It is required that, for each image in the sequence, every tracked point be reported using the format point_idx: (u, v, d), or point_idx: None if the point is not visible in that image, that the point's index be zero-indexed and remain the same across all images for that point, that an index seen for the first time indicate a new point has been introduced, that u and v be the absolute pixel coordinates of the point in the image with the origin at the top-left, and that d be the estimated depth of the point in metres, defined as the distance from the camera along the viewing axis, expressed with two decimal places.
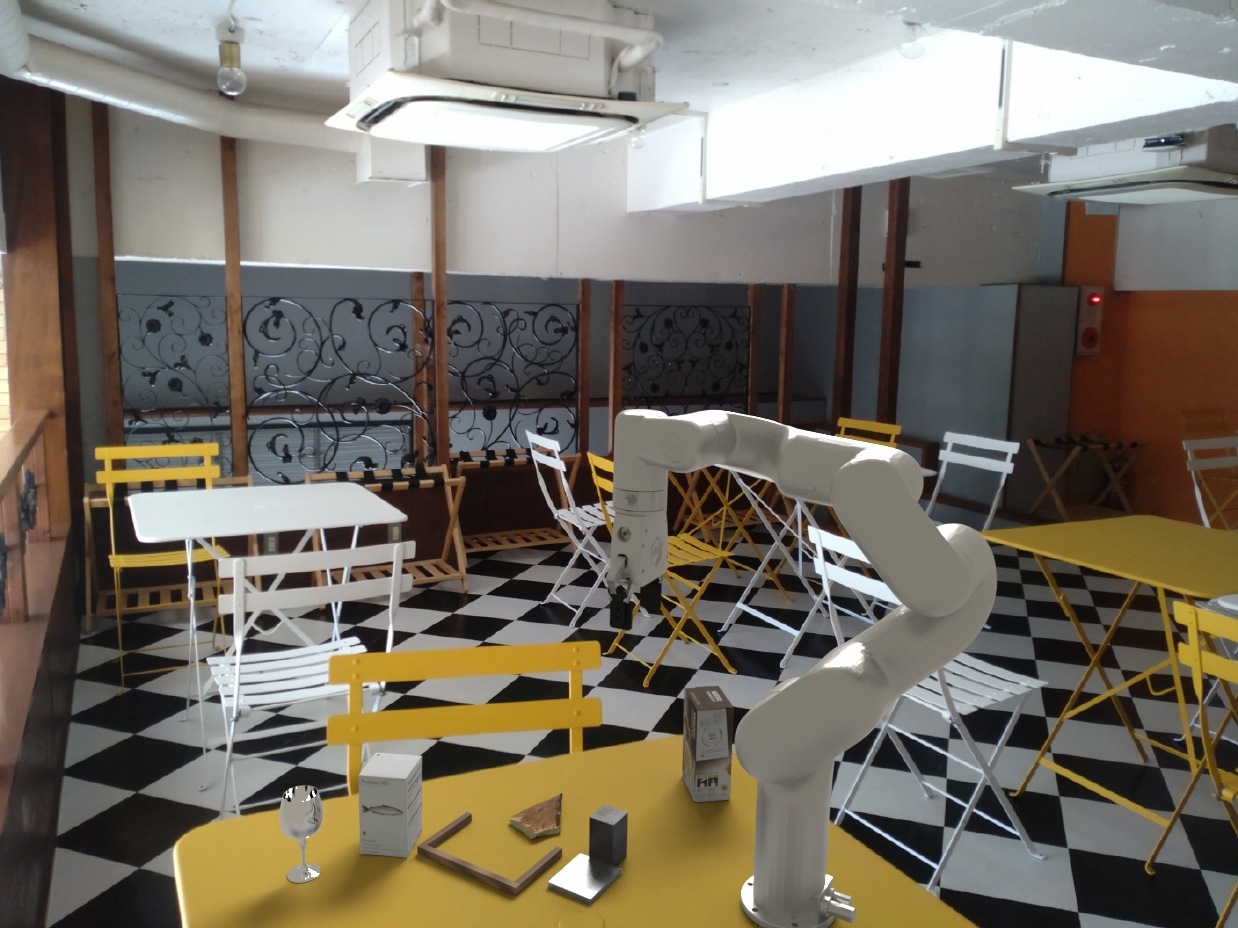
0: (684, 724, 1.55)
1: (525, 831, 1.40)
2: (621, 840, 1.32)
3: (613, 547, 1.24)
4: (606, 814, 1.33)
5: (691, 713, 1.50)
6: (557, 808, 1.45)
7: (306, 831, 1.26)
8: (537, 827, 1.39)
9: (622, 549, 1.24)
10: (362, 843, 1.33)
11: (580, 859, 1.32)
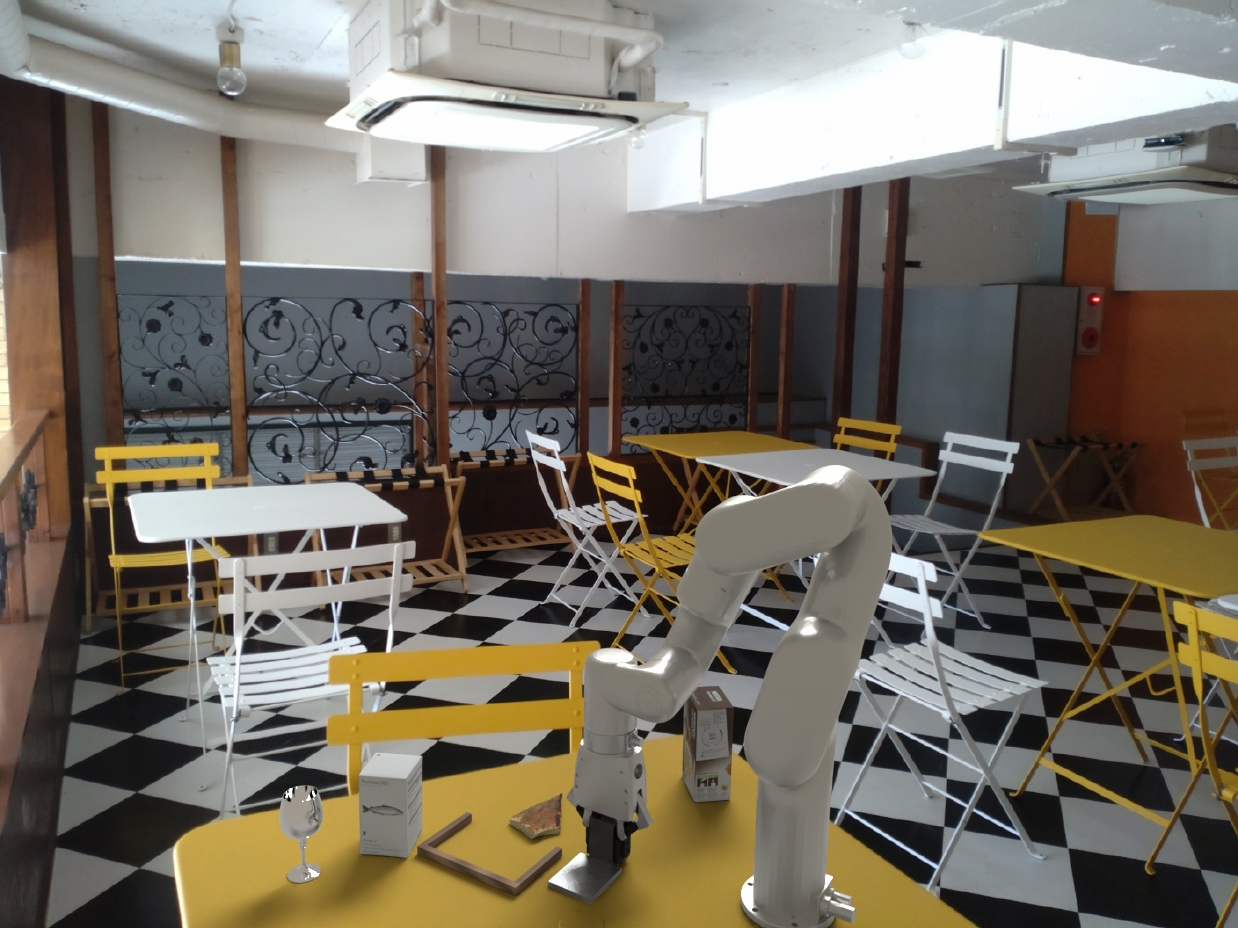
0: (684, 724, 1.55)
1: (525, 831, 1.40)
2: None
3: (632, 789, 1.28)
4: None
5: (691, 713, 1.50)
6: (557, 809, 1.45)
7: (306, 831, 1.26)
8: (537, 827, 1.39)
9: (639, 785, 1.29)
10: (362, 843, 1.33)
11: (580, 858, 1.32)
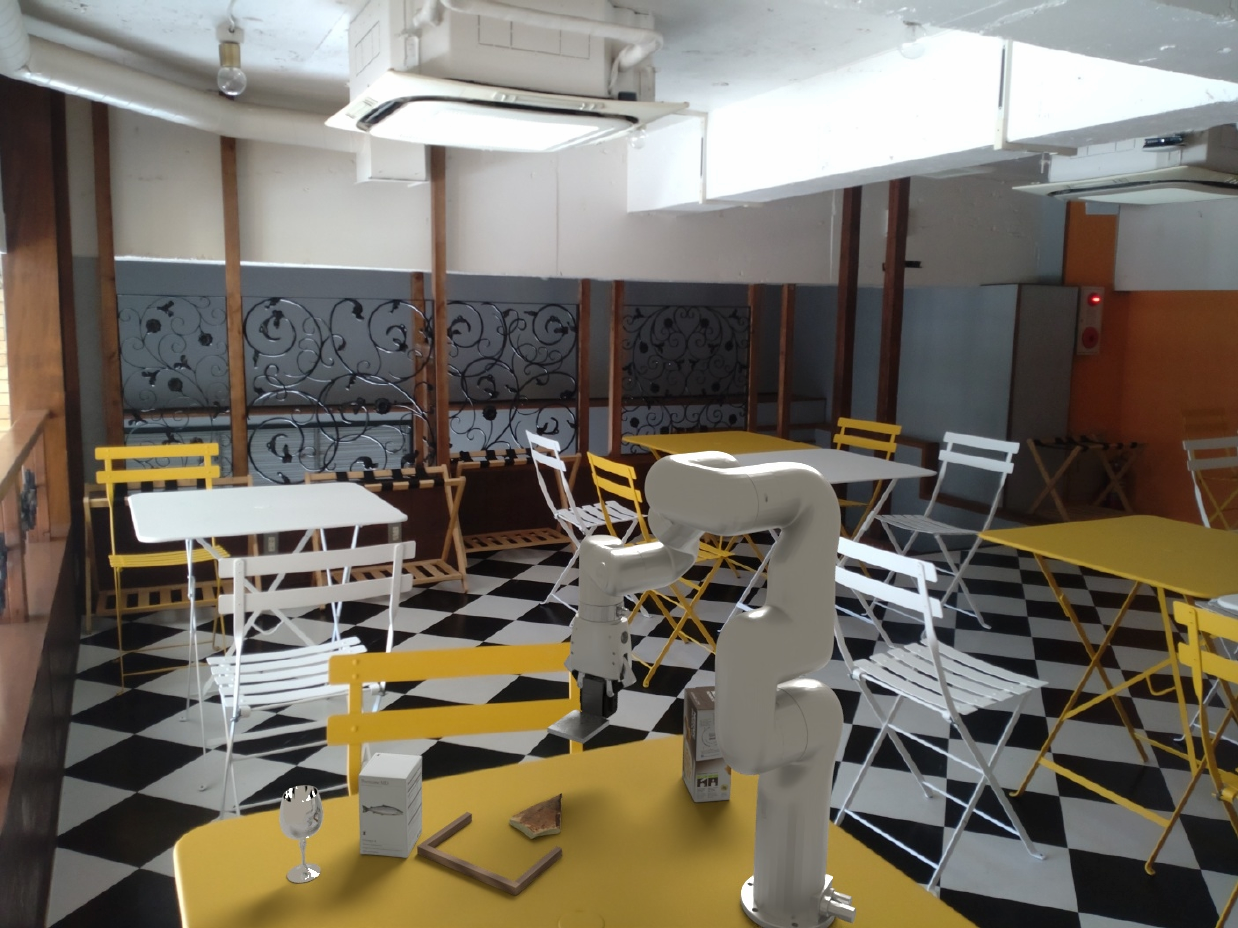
0: (684, 724, 1.55)
1: (525, 831, 1.40)
2: None
3: (619, 652, 1.52)
4: None
5: (691, 713, 1.50)
6: (557, 809, 1.45)
7: (306, 831, 1.26)
8: (537, 827, 1.39)
9: (625, 649, 1.53)
10: (362, 843, 1.33)
11: (575, 713, 1.56)
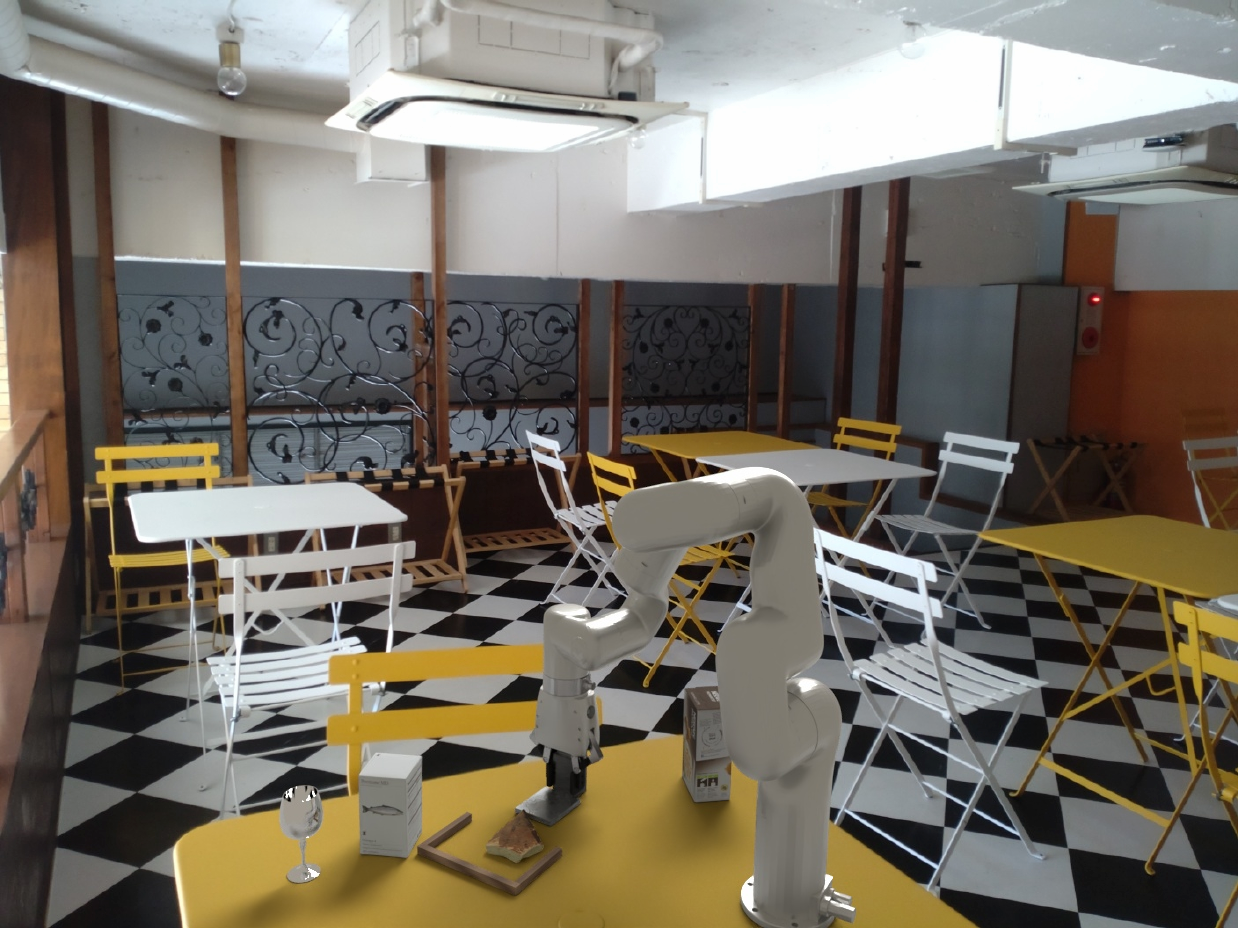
0: (684, 724, 1.55)
1: (508, 854, 1.33)
2: None
3: (585, 727, 1.45)
4: None
5: (691, 713, 1.50)
6: (529, 825, 1.39)
7: (306, 831, 1.26)
8: (520, 847, 1.33)
9: (591, 724, 1.46)
10: (362, 843, 1.33)
11: (545, 791, 1.50)
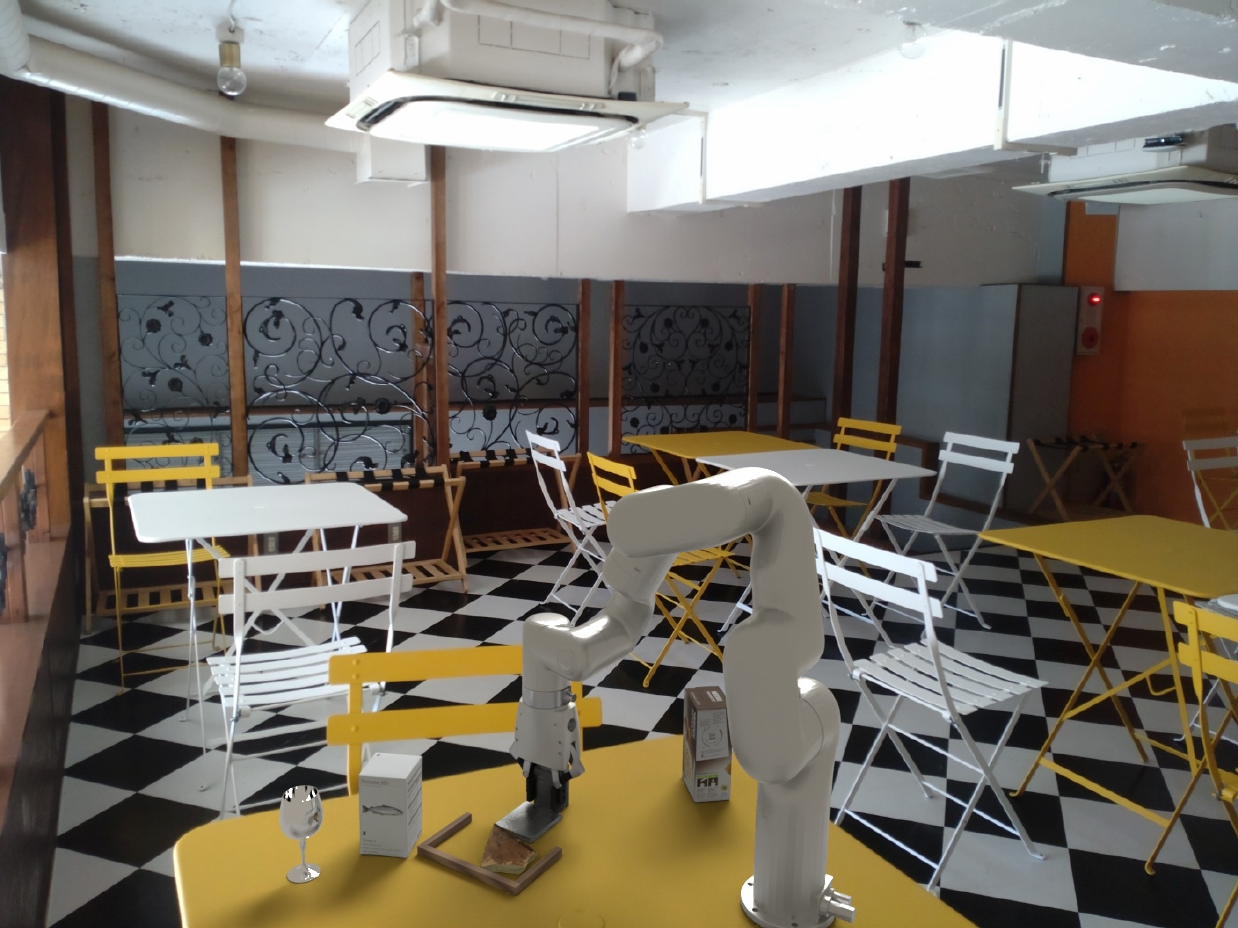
0: (684, 724, 1.55)
1: (508, 870, 1.30)
2: None
3: (566, 740, 1.40)
4: None
5: (691, 713, 1.50)
6: (511, 837, 1.37)
7: (306, 831, 1.25)
8: (519, 860, 1.31)
9: (572, 737, 1.41)
10: (362, 843, 1.33)
11: (525, 805, 1.46)
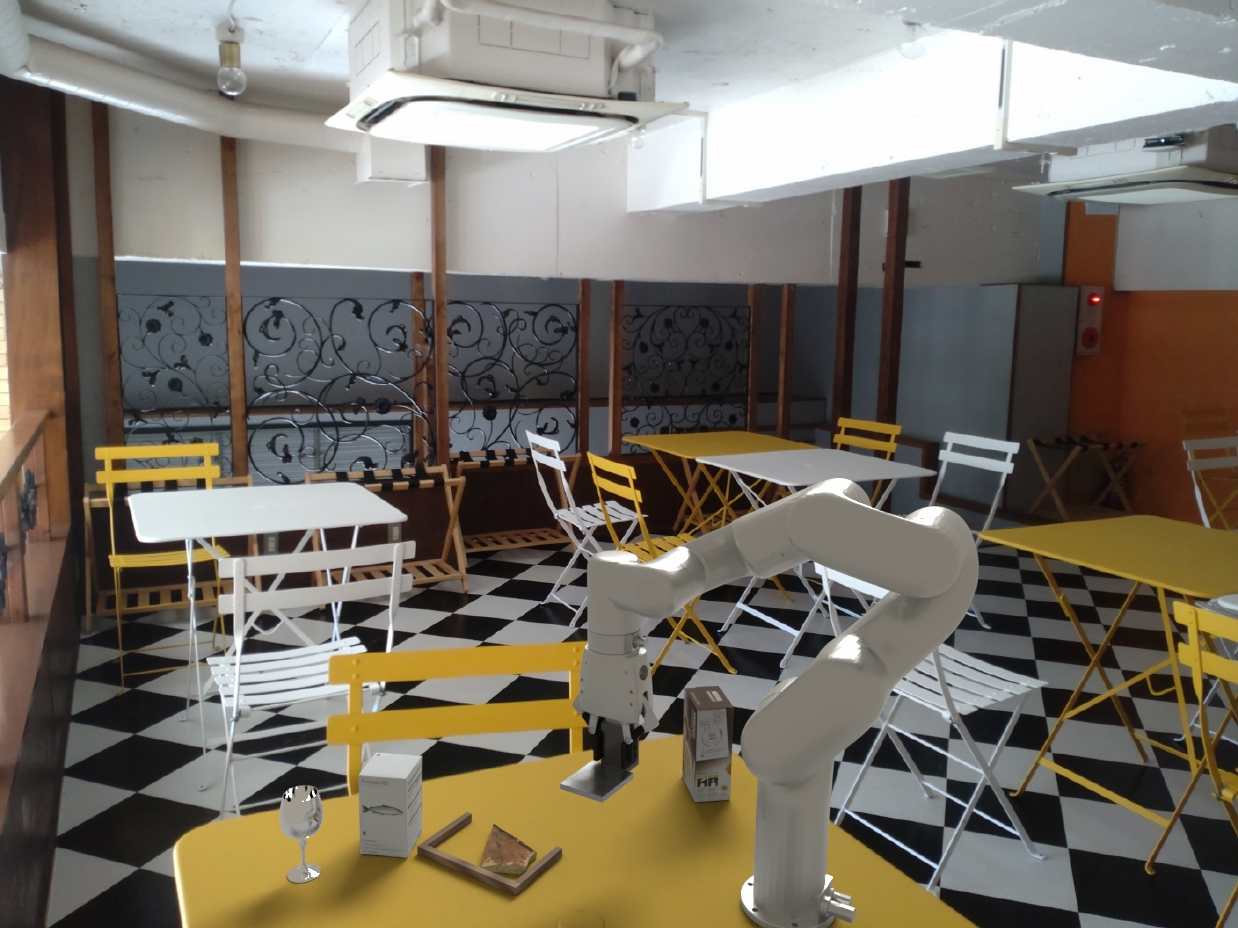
0: (684, 724, 1.55)
1: (508, 870, 1.30)
2: None
3: (638, 690, 1.27)
4: None
5: (691, 713, 1.50)
6: (511, 838, 1.37)
7: (306, 831, 1.26)
8: (520, 860, 1.31)
9: (644, 687, 1.28)
10: (362, 843, 1.33)
11: (592, 765, 1.32)
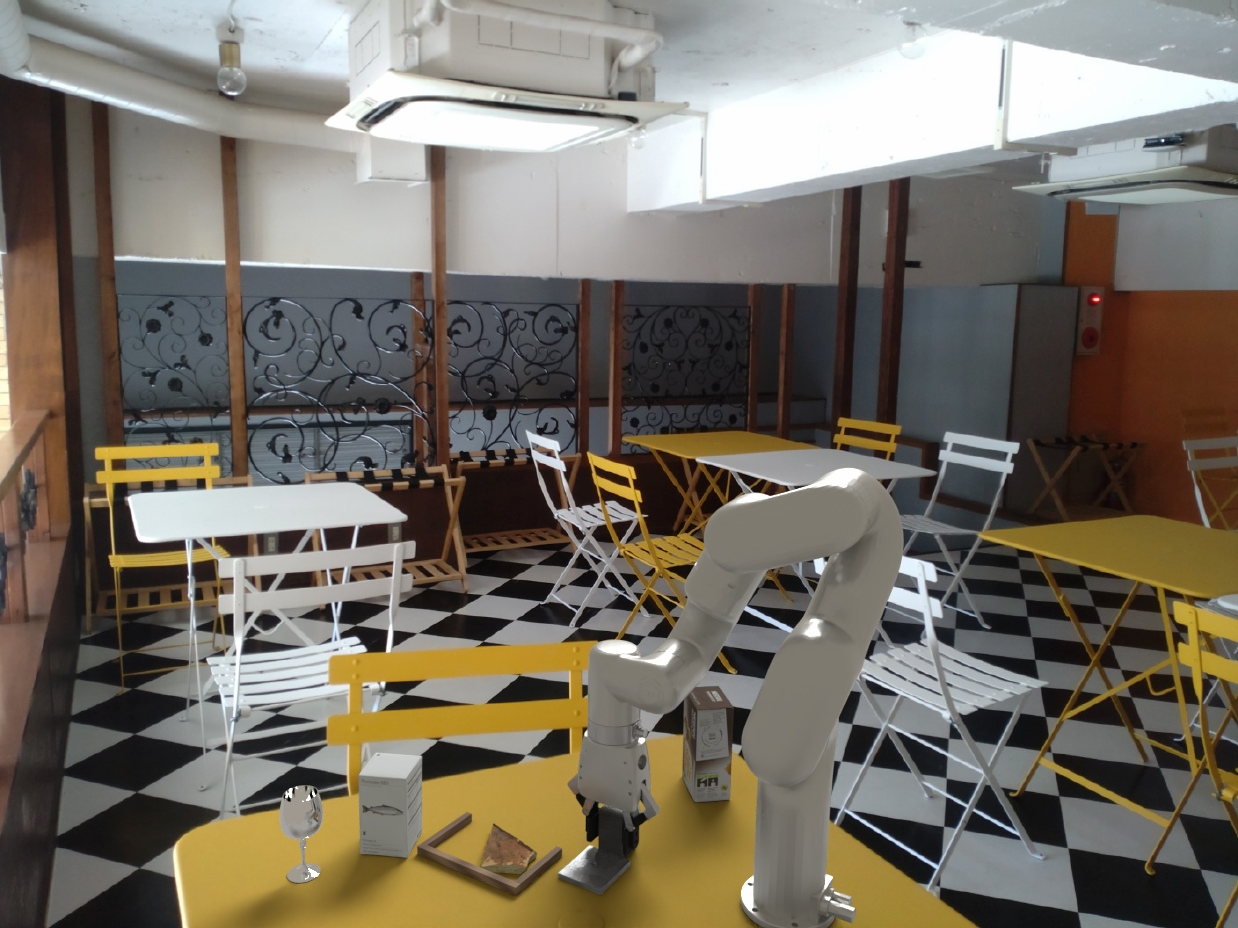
0: (684, 724, 1.55)
1: (508, 870, 1.30)
2: None
3: (636, 780, 1.28)
4: None
5: (691, 713, 1.50)
6: (511, 837, 1.37)
7: (306, 831, 1.26)
8: (519, 860, 1.31)
9: (643, 776, 1.30)
10: (362, 843, 1.33)
11: (590, 851, 1.34)
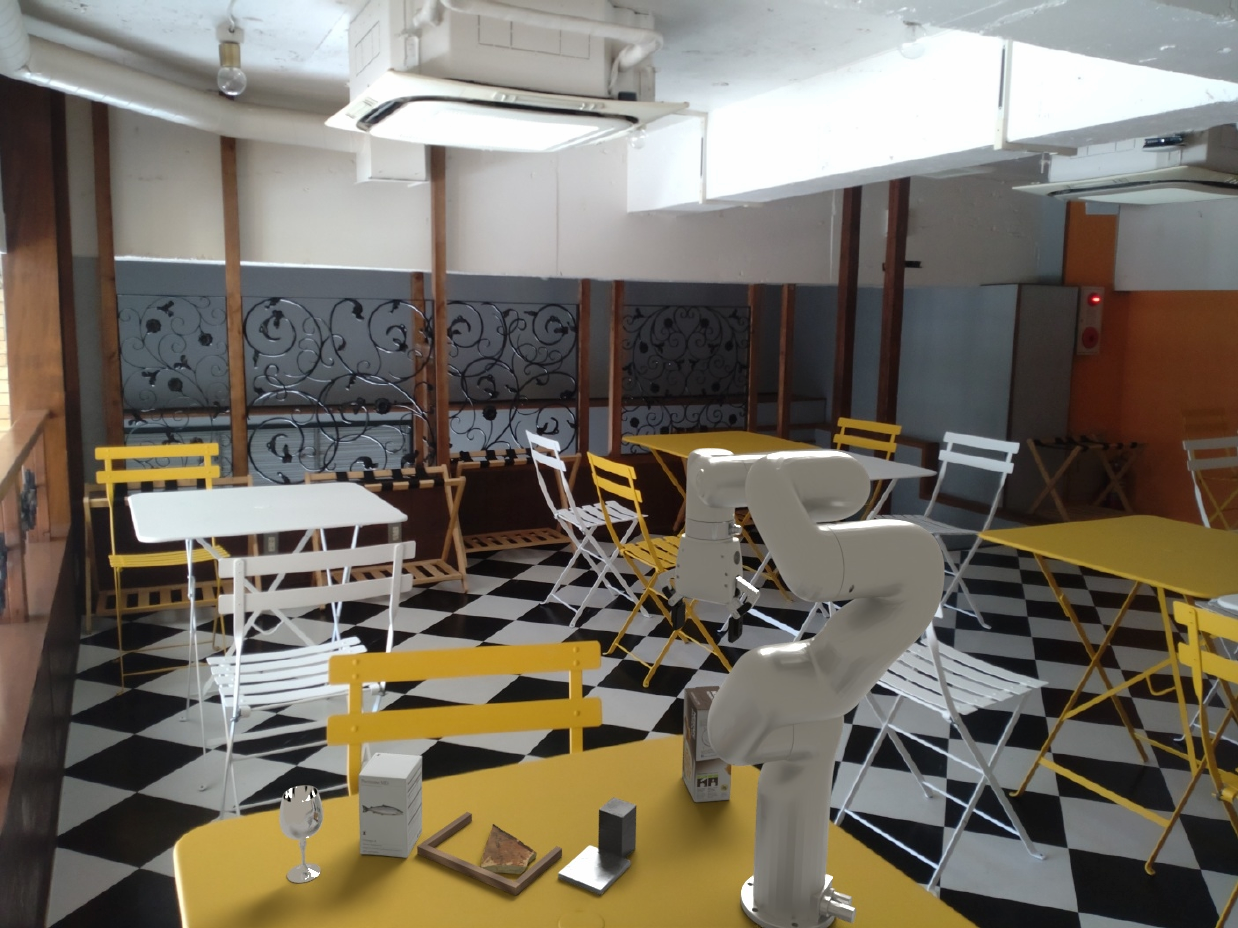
0: (684, 724, 1.55)
1: (508, 870, 1.30)
2: (630, 832, 1.34)
3: (732, 573, 1.40)
4: (615, 806, 1.35)
5: (691, 713, 1.50)
6: (511, 838, 1.37)
7: (306, 831, 1.25)
8: (519, 860, 1.31)
9: (737, 571, 1.41)
10: (362, 843, 1.33)
11: (590, 851, 1.34)
